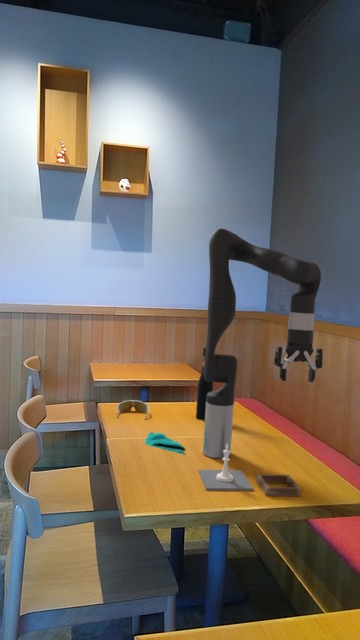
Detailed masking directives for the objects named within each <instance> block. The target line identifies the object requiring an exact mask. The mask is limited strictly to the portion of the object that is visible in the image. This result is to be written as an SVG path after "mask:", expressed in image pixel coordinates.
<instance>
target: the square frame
mask: <svg viewBox="0 0 360 640" xmlns="http://www.w3.org/2000/svg"><path fill="white" fill-rule="evenodd" d="M255 480H256V483H257V485H258V486H259V487H260V489H261V490H262V492H263V493H264V495H265V497H301V495H302V493H301V492H302V488H301V487H300V486H299V485H298V484H297V482H295V480H294V479H293V478H292V477H291V475H289V474H256V479H255ZM268 484H286V485H287V486H269V485H268Z"/></svg>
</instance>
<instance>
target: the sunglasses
mask: <svg viewBox="0 0 360 640" xmlns="http://www.w3.org/2000/svg"><path fill="white" fill-rule="evenodd" d="M132 408H134V411H135V412H140V413H145V414H147V415H146V417H145V418H144V419H143V420H144V421H145V420H147V418H148V417H149V414H150V412H148V411H150V407H149V405H148V403H145V402H144V401H141V400H137V399H130V400H124V401H121V402H119V403H118V404H117V406H116V408H115V413H116V416H117V418H118V420H121V417H120V416H119V413H121V412H130V411H132ZM117 410H118V411H117ZM118 412H119V413H118Z"/></svg>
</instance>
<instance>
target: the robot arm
mask: <svg viewBox="0 0 360 640" xmlns="http://www.w3.org/2000/svg"><path fill="white" fill-rule="evenodd" d="M208 253H209V255H208V256H209V285H208V286H209V287H208V289H209V290H208V304H207V331H206V333H207V334H206V341H205V342H206V343H205V348H206V351H205V360H204V359H203V362H204V378H205V380H206V381H208V382H213V383H223V384H224V383H225V384H224V385H223V386H222V387H220V388H218V389H215V390H213V391H211V392H209V393H208V394H207V396H206V411H205V420H204V425H203V426H204V429H203V430H204V431H203V441H202V442H203V443H202V445H203V446H202V454H203V455H205V456H206V457H209V458H214V459H223V458H224V453H223V450H226V444H228V450H229V451H230V454H229V456H228V458H229V457H230V456H231V450H232V438H233V437H232V436H233V435H232V434H233V423H234V422H233V421H234V406H235V393H236V392H235V391H236V383H237V375H238V359H237V358H236V357H237V356H235V355H230V354H218V353H215V351H216V348H217V346H218V343H219V341H220V339H221V338H222V336H223V335H224V333H225V331H226V330H227V329H228V328H229V326H230V325H231V323H232V322H233V321H234V319H235V316H236V308H237V307H236V306H237V305H236V304H237V295H236V290H235V286H234V283H233V280H232V278H231V274H230V273H231V272H230V268H229V267H230V266H229V264H230V261H235V262H242V263H247V264H249V265H252V266H254V267H256V268H258V269H260V270H262V271H264V272H268V273H269V274H272V275H274V276H279V277H281V278H282V279H285V280H287V281H288V282H291V283H293V284H296V285H298V287H297V291H296V292H295V293H293V294H291V295H292V296H291V298H290V306H289V307H290V309H289V316H288V321H287V323H288V324H287V335H286V337H287V338H286V346H281V345H276V347H275V353H274V362H273V365H275V366H276V367H278V368H279V379H280V380H281V381H282V382H286V380H287V367H288V366H289V365H290V364H291V363H292V362H297V363H298V362H301V363H306V364H307V366H308V367H309V369H308V378H307V381H308V382H309V383H314V381H315V380H316V371H317V370H318V369H322V368H323V353H324V352H323V348H320V347H316V348H314V347H313V342H314V333H315V332H314V329H315V305H316V301H315V300H316V297H317V295H318V292H319V288H320V284H321V279H322V273H321V269H320V267H319V265H317V264H316V263H314V262H312V261H305V260H302V259H298V258H295V257H291V256H290V255H288V254H286V253H283V252H280V251H277V250H275V249H271V248H266V247H260V246H257V245H254V244H252V243H250V242H248V241H247V240H245V239H243V238H242V237H240V236H239V235H238V234H237V233H234V232H232V231H230V230H227V229H226V228H218V229H216V230H215V231H213V233H211V236H210V238H209V242H208ZM284 352H286V354H287V355H286V356H285V357H284V358H283V361H282V357H283V354H284ZM313 354H314V355H315V358H314V359H315V360H313V359H312V357H311V356H312V355H313Z"/></svg>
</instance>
